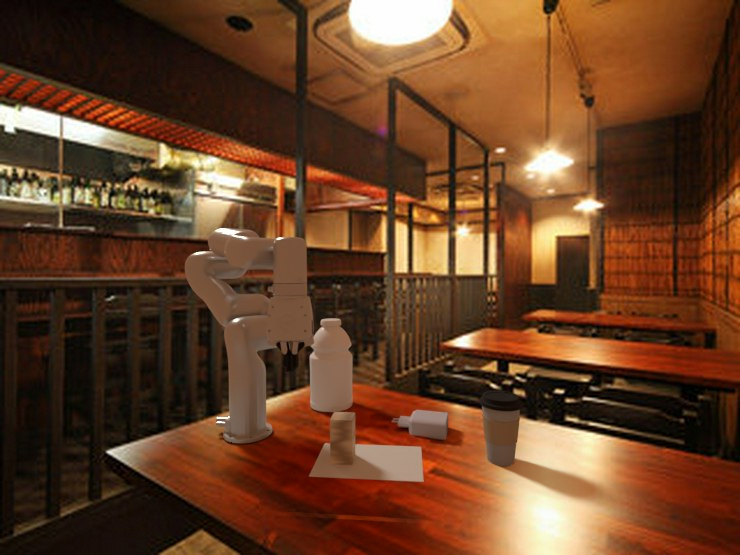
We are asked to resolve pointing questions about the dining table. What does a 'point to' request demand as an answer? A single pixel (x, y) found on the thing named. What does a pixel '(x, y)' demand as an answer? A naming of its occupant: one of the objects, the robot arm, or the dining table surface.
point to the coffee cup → (500, 425)
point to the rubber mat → (374, 464)
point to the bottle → (331, 368)
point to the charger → (425, 424)
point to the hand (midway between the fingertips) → (291, 370)
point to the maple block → (342, 438)
